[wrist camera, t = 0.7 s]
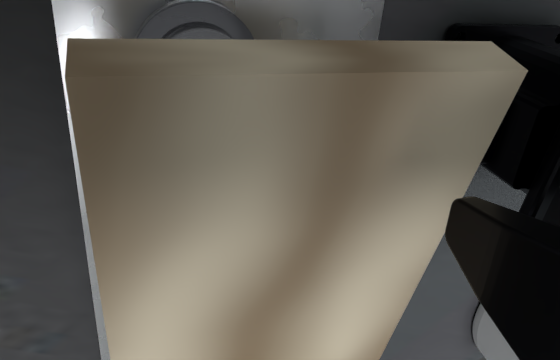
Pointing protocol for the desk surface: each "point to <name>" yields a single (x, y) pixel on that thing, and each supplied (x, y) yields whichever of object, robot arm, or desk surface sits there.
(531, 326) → the robot arm
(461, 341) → the desk surface
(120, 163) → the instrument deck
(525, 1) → the desk surface
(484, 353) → the eye dropper bottle
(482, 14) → the desk surface
